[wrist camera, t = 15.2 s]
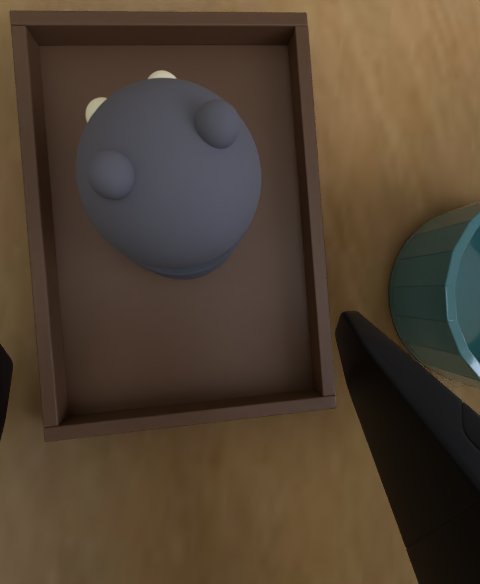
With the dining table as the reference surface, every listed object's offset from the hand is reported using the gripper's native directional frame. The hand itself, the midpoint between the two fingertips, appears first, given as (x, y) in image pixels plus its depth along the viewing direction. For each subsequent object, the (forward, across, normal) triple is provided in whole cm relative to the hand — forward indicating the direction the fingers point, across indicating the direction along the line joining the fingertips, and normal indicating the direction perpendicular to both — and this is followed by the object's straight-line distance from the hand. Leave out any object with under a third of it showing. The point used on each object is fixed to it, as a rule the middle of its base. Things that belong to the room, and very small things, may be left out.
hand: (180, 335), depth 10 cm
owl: (+10, 0, +3) cm, 11 cm away
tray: (+11, 0, +4) cm, 11 cm away
